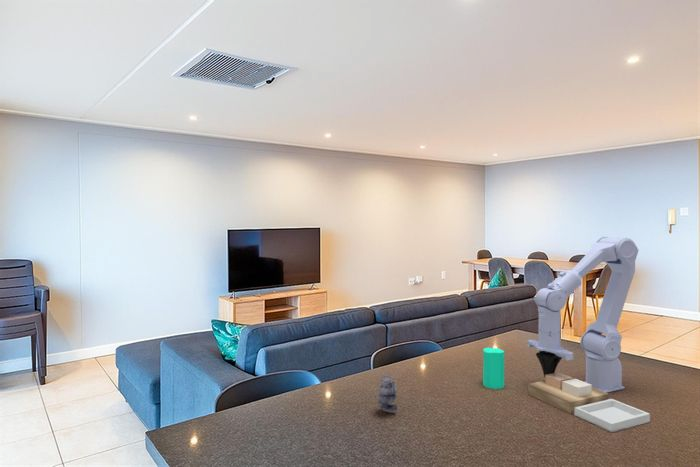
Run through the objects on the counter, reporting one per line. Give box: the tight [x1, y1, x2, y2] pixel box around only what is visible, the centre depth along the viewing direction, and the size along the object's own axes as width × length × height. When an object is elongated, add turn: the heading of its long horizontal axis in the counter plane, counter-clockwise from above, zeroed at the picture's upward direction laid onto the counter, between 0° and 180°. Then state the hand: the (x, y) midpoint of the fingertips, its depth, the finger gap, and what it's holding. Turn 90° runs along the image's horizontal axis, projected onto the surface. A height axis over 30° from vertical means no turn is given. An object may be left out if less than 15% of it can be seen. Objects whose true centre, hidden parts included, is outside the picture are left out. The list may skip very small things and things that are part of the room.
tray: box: [574, 398, 651, 433], centre depth 111 cm, size 14×10×2 cm
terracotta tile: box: [544, 371, 574, 390], centre depth 126 cm, size 5×5×2 cm
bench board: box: [527, 380, 610, 415], centre depth 123 cm, size 14×14×3 cm
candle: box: [482, 347, 505, 390], centre depth 134 cm, size 6×6×12 cm
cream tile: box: [562, 378, 592, 397], centre depth 120 cm, size 5×5×2 cm
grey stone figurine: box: [376, 374, 398, 413], centre depth 115 cm, size 5×5×10 cm
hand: (548, 378), depth 129 cm, fingers closed
